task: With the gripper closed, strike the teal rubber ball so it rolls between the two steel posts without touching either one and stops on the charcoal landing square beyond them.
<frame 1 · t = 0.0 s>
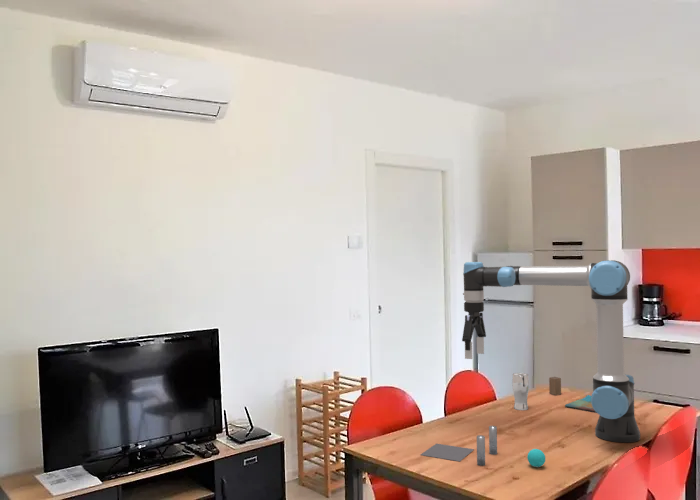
hand: (474, 356, 239), 28 cm above the table, tool pointing down, fingers open, 13 cm apart
post 1: (481, 464, 197), on the table
ball: (536, 457, 195), on the table
wooden block: (555, 394, 294), on the table
dish towel: (594, 407, 271), on the table
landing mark: (447, 452, 210), on the table
post 2: (493, 453, 208), on the table
beer glass: (521, 409, 268), on the table
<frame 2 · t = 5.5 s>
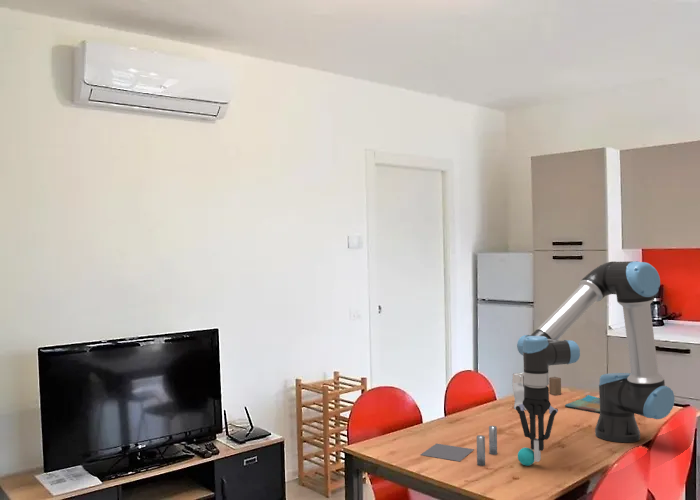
hand: (537, 460, 194), 2 cm above the table, tool pointing down, fingers closed
ball: (526, 456, 196), on the table, touching gripper
everything else where it was.
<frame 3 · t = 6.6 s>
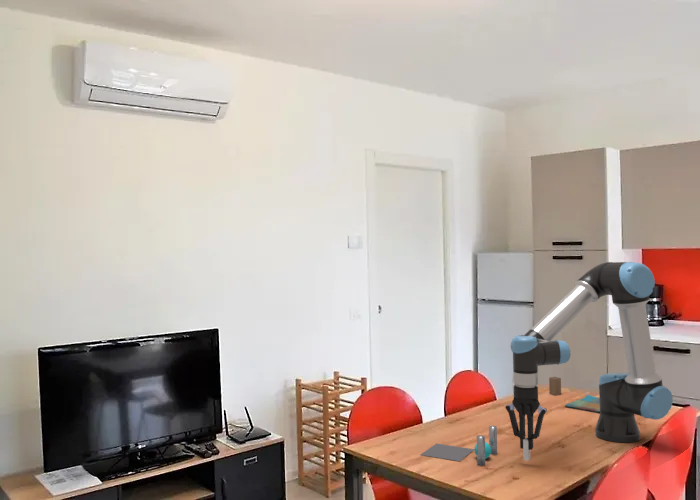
hand: (526, 459, 196), 2 cm above the table, tool pointing down, fingers closed
ball: (482, 450, 203), on the table
everything else where it was.
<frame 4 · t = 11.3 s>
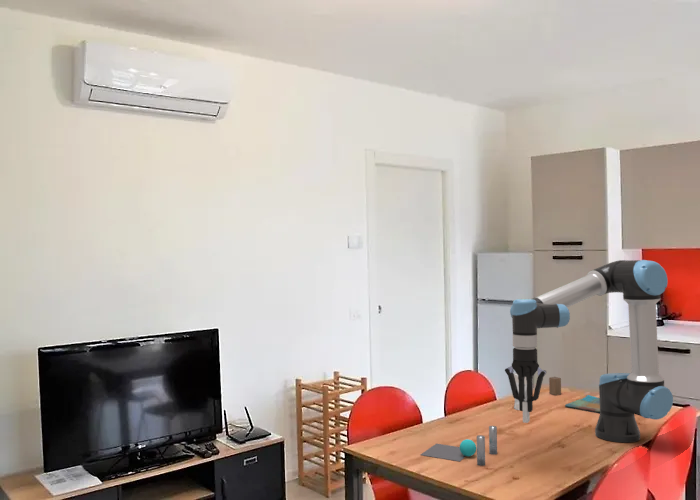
hand: (526, 421, 196), 14 cm above the table, tool pointing down, fingers closed
ball: (467, 447, 206), on the table
everything else where it was.
at the end: ball 7.5 cm from the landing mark (horizontally); ball never touched post 1; ball never touched post 2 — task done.
